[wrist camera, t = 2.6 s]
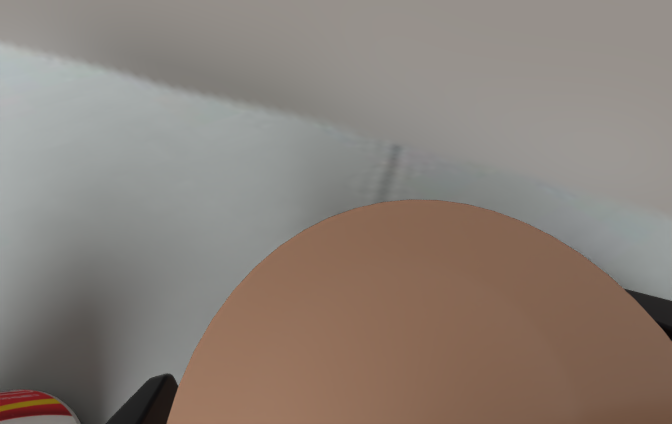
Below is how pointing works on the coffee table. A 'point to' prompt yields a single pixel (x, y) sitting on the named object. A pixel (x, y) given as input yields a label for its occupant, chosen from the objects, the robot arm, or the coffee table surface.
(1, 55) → the coffee table surface
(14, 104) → the coffee table surface
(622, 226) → the coffee table surface
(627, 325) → the peach tapered cone
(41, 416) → the soda can
